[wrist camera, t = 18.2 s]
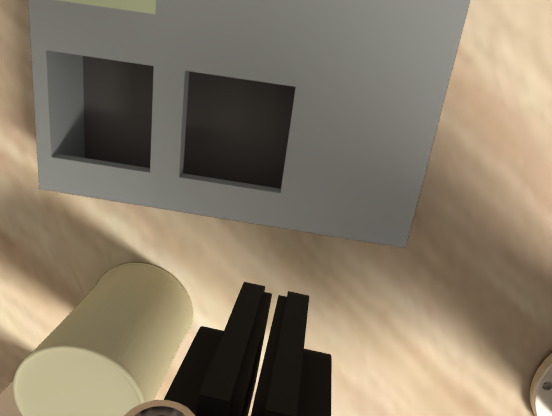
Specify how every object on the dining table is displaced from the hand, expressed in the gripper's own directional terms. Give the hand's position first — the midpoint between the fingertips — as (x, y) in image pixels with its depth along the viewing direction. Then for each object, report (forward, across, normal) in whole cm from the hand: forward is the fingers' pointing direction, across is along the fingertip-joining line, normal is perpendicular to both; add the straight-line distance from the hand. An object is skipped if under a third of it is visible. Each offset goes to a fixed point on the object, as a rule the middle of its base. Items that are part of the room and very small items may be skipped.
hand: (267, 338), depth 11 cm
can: (+24, +12, +17) cm, 32 cm away
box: (+24, +6, -6) cm, 25 cm away
